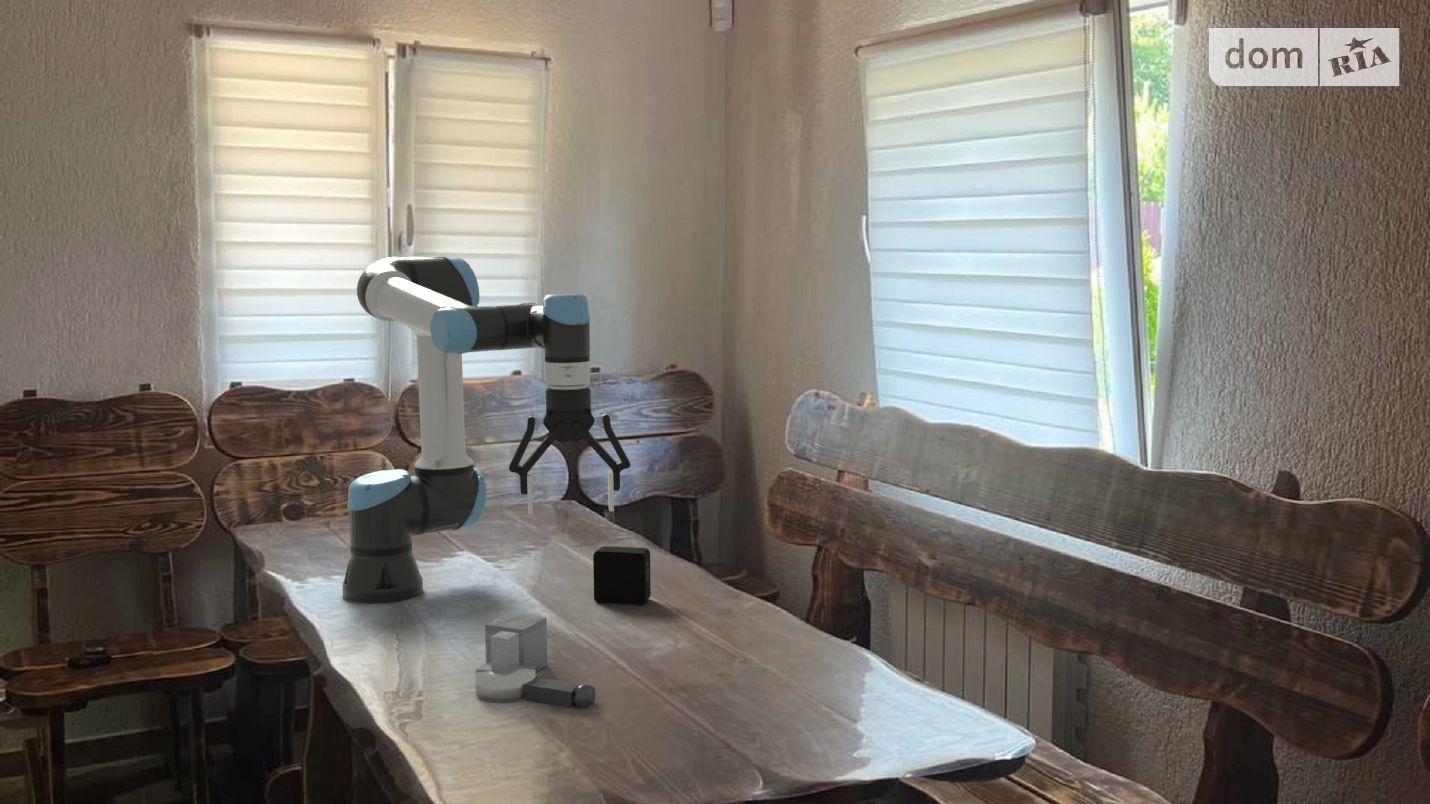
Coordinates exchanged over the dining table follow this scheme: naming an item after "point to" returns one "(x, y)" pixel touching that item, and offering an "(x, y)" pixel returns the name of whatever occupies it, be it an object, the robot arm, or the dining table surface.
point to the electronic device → (621, 575)
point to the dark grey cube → (522, 637)
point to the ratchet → (524, 679)
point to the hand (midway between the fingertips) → (571, 511)
